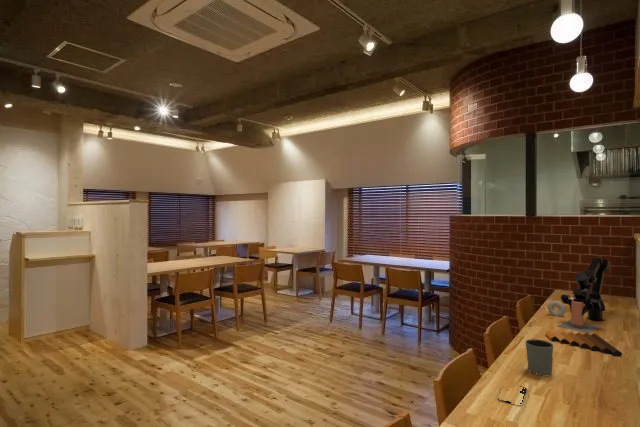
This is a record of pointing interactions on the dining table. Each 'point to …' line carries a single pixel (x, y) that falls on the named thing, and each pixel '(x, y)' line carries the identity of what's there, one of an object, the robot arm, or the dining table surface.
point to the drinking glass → (539, 356)
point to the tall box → (577, 313)
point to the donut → (559, 304)
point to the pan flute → (583, 341)
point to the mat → (579, 327)
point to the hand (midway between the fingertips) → (576, 313)
